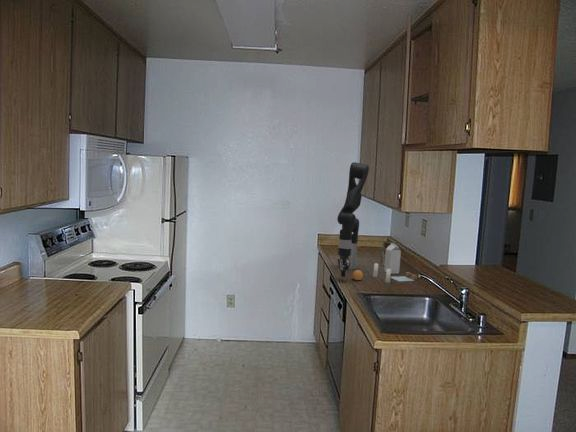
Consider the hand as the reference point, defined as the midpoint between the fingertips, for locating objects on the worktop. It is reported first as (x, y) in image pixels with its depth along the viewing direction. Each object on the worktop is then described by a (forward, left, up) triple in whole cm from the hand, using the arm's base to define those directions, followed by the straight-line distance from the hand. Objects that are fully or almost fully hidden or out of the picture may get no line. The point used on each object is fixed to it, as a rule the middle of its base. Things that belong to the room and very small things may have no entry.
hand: (342, 276), depth 281 cm
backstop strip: (0, +46, -3) cm, 46 cm away
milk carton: (-17, +43, -3) cm, 46 cm away
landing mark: (0, +40, -3) cm, 40 cm away
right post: (+7, +26, -3) cm, 27 cm away
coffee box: (-37, +52, -3) cm, 64 cm away
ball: (0, +10, 0) cm, 10 cm away
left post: (-8, +26, -3) cm, 27 cm away
